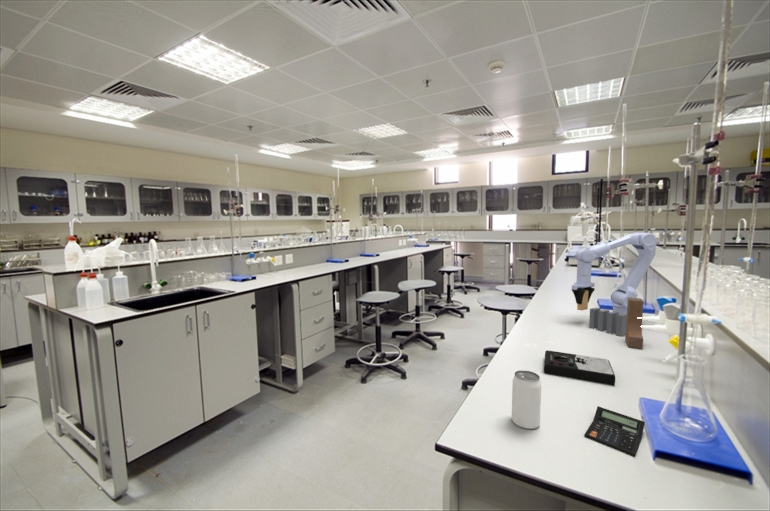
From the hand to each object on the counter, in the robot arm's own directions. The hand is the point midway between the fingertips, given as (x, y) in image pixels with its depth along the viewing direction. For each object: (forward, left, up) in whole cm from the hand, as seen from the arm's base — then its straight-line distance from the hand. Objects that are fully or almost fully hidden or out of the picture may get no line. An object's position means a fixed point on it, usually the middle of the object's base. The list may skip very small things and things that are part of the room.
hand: (582, 303), depth 155 cm
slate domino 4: (0, +17, -10) cm, 20 cm away
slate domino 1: (0, +6, -10) cm, 12 cm away
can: (+87, +40, -10) cm, 97 cm away
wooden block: (+8, +26, -10) cm, 29 cm away
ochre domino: (0, 0, -3) cm, 3 cm away
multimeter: (+50, +29, -11) cm, 58 cm away
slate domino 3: (0, +14, -10) cm, 17 cm away
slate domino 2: (0, +10, -10) cm, 14 cm away
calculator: (+73, +53, -11) cm, 91 cm away
